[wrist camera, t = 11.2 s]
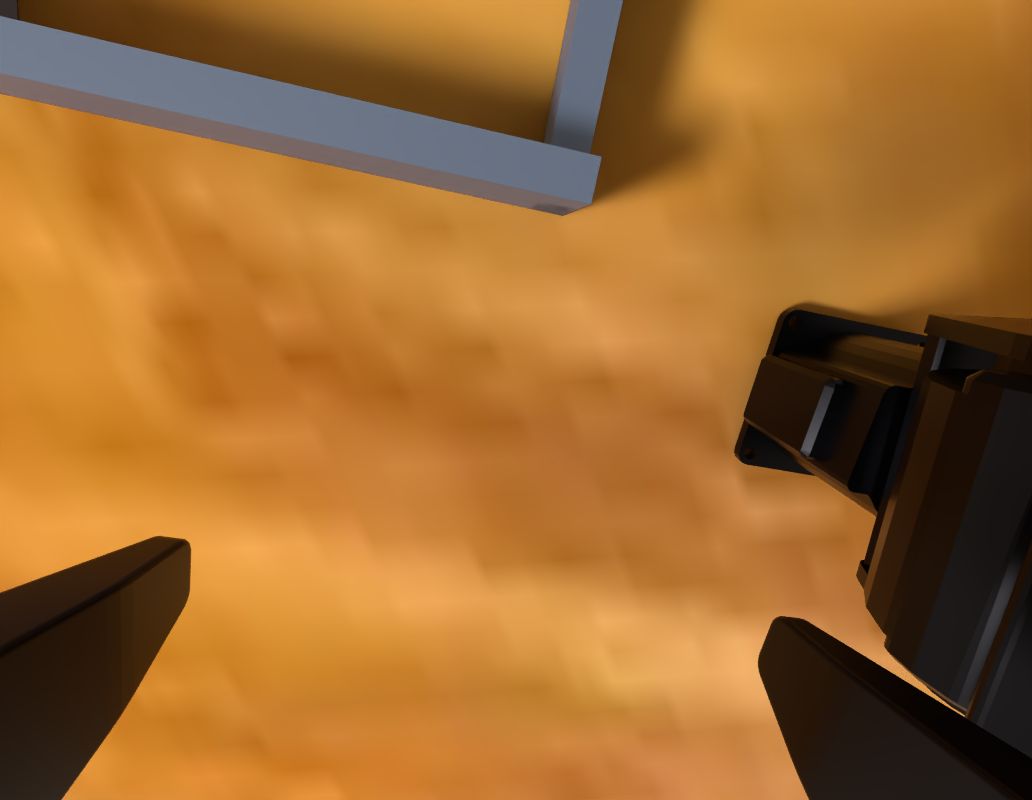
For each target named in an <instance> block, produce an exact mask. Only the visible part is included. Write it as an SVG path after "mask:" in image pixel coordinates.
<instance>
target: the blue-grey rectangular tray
mask: <svg viewBox="0 0 1032 800" xmlns="http://www.w3.org/2000/svg"><path fill="white" fill-rule="evenodd" d="M622 3H623V0H571V2H570V7H569V12H568V17H567V22H566V28H565V33H564V38H563V43H562V48H561V54H560V59H559V64H558V69H557V74H556V79H555V85H554V90H553V95H552V100H551V105H550V110H549V116H548V121H547V126H546V131H545V136H544V142H543V143H541V142H537V141H533V140H528V139H524V138H520V137H515V136H511V135H507V134H503V133H498V132H494V131H490V130H486V129H481V128H477V127H473V126H468V125H464V124H460V123H456V122H451V121H447V120H443V119H438V118H434V117H430V116H426V115H421V114H417V113H413V112H409V111H404V110H400V109H396V108H391V107H387V106H383V105H379V104H374V103H370V102H366V101H361V100H357V99H353V98H349V97H344V96H340V95H336V94H332V93H327V92H323V91H319V90H314V89H310V88H306V87H302V86H297V85H293V84H289V83H284V82H280V81H276V80H272V79H267V78H263V77H259V76H255V75H250V74H246V73H242V72H237V71H233V70H229V69H225V68H220V67H216V66H212V65H208V64H203V63H199V62H195V61H190V60H186V59H182V58H178V57H173V56H169V55H165V54H160V53H156V52H152V51H148V50H143V49H139V48H135V47H131V46H126V45H122V44H118V43H113V42H109V41H105V40H101V39H96V38H92V37H88V36H83V35H79V34H75V33H71V32H66V31H62V30H58V29H54V28H49V27H45V26H41V25H36V24H32V23H28V22H24V21H19V20H18V14H17V0H0V93H1V94H5V95H10V96H14V97H19V98H24V99H28V100H33V101H37V102H42V103H46V104H51V105H56V106H60V107H65V108H69V109H74V110H79V111H83V112H88V113H92V114H97V115H102V116H106V117H111V118H115V119H120V120H125V121H129V122H134V123H138V124H143V125H148V126H152V127H157V128H161V129H166V130H171V131H175V132H180V133H184V134H189V135H194V136H198V137H203V138H207V139H212V140H217V141H221V142H226V143H230V144H235V145H240V146H244V147H249V148H253V149H258V150H263V151H267V152H272V153H276V154H281V155H286V156H290V157H295V158H299V159H304V160H309V161H313V162H318V163H322V164H327V165H332V166H336V167H341V168H345V169H350V170H355V171H359V172H364V173H368V174H373V175H377V176H382V177H387V178H391V179H396V180H400V181H405V182H410V183H414V184H419V185H423V186H428V187H433V188H437V189H442V190H446V191H451V192H456V193H460V194H465V195H469V196H474V197H479V198H483V199H488V200H492V201H497V202H502V203H506V204H511V205H515V206H520V207H525V208H529V209H534V210H538V211H543V212H548V213H552V214H557V215H561V216H563V215H566V214H568V213H571V212H573V211H576V210H578V209H581V208H583V207H586V206H588V205H591V203H592V198H593V194H594V189H595V185H596V180H597V176H598V172H599V167H600V163H601V158H602V157H601V156H597V155H592V154H590V151H591V146H592V141H593V137H594V132H595V128H596V123H597V118H598V114H599V109H600V105H601V100H602V95H603V91H604V86H605V81H606V77H607V72H608V68H609V63H610V58H611V54H612V49H613V45H614V40H615V35H616V31H617V26H618V22H619V17H620V12H621V8H622Z"/></svg>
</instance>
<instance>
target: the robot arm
mask: <svg viewBox="0 0 1032 800" xmlns="http://www.w3.org/2000/svg"><path fill="white" fill-rule="evenodd" d="M794 316H795V318H796V323H795V324H794V326H792V327H791V328H790V326H789V321H790V320H791V318H793V317H794ZM924 333H927V334H928V336H924V335H919V334H914V333H909V332H904V331H900V330H895V329H890V328H885V327H880V326H875V325H871V324H866V323H861V322H856V321H851V320H846V319H842V318H837V317H832V316H827V315H822V314H817V313H813V312H808V311H803V310H798V309H787V310H785V311H784V312H782V313H781V314H780V316H779V318H778V320H777V323H776V326H775V329H774V332H773V335H772V338H771V341H770V344H769V347H768V350H767V353H766V356H765V357H764V358H763V359H762V360H761V363H760V366H759V369H758V372H757V375H756V378H755V381H754V384H753V387H752V390H751V393H750V396H749V399H748V402H747V405H746V408H745V411H744V418H745V419H744V422H743V425H742V428H741V431H740V434H739V437H738V440H737V443H736V446H735V450H734V453H735V456H736V457H737V458H738V459H739V460H740V461H741V462H742V463H744V464H747V465H753V466H759V467H765V468H771V469H777V470H783V471H789V472H795V473H801V474H807V475H813V476H817V477H818V478H820V479H821V480H823V481H824V482H826V483H827V484H829V485H830V486H832V487H833V488H835V489H836V490H838V491H839V492H841V493H842V494H844V495H845V496H847V497H848V498H850V499H851V500H853V501H854V502H856V503H857V504H858V505H860V506H861V507H863V508H864V509H866V510H867V511H869V512H870V513H872V514H873V515H875V516H876V521H875V524H874V528H873V531H872V535H871V538H870V542H869V546H868V549H867V553H866V556H865V560H861V561H860V564H859V567H858V571H857V574H856V576H857V579H858V580H859V582H860V584H861V585H862V587H863V589H864V595H865V603H866V608H867V609H868V611H869V612H870V614H871V615H872V617H873V618H874V620H875V621H876V623H877V624H878V626H879V627H880V629H881V630H882V631H883V633H884V634H885V635H886V639H885V642H884V647H885V648H886V650H887V651H888V652H889V653H890V655H891V656H892V657H893V658H894V659H895V660H896V661H897V662H898V663H899V664H901V665H902V666H903V667H904V668H905V669H906V670H907V671H909V672H910V673H911V674H912V675H913V676H914V677H915V678H916V679H918V680H919V681H920V682H922V683H923V684H924V685H925V686H926V687H927V688H928V689H930V690H931V691H932V692H933V693H934V694H935V695H937V696H938V697H939V698H941V699H942V700H943V701H945V702H946V703H947V704H948V705H950V706H951V707H953V708H954V709H956V710H957V711H959V712H961V713H962V714H964V715H965V717H963V716H962V715H960V714H958V713H957V712H955V711H953V710H952V709H950V708H949V707H947V706H945V705H944V704H942V703H940V702H939V701H937V700H935V699H934V698H932V697H931V696H929V695H927V694H926V693H924V692H922V691H921V690H919V689H917V688H916V687H914V686H913V685H911V684H909V683H908V682H906V681H904V680H903V679H901V678H899V677H898V676H896V675H894V674H893V673H891V672H890V671H888V670H886V669H885V668H883V667H881V666H880V665H878V664H876V663H875V662H873V661H872V660H870V659H868V658H867V657H865V656H863V655H862V654H860V653H858V652H857V651H855V650H854V649H852V648H850V647H849V646H847V645H845V644H844V643H842V642H840V641H839V640H837V639H836V638H834V637H832V636H831V635H829V634H827V633H826V632H824V631H822V630H821V629H819V628H818V627H816V626H814V625H813V624H811V623H809V622H808V621H806V620H804V619H801V618H793V617H785V616H779V617H777V618H775V619H774V620H773V622H772V623H771V626H770V628H769V631H768V633H767V636H766V639H765V641H764V644H763V646H762V649H761V651H760V654H759V658H758V668H759V673H760V676H761V679H762V682H763V684H764V687H765V690H766V692H767V695H768V698H769V700H770V703H771V706H772V708H773V711H774V714H775V716H776V719H777V722H778V724H779V727H780V730H781V732H782V735H783V738H784V740H785V743H786V746H787V748H788V751H789V754H790V756H791V759H792V761H793V764H794V766H795V769H796V771H797V774H798V776H799V779H800V781H801V783H802V785H803V787H804V790H805V792H806V794H807V796H808V798H809V800H1032V319H1019V318H999V317H979V316H959V315H939V314H929V316H928V319H927V323H926V327H925V330H924ZM918 344H920V346H917V345H918ZM749 448H752V450H751V452H750V454H748V455H745V451H746V450H747V449H749ZM190 570H191V547H190V543H189V542H188V541H187V540H185V539H179V538H171V537H163V536H156V537H152V538H150V539H147V540H144V541H141V542H139V543H136V544H133V545H130V546H128V547H125V548H122V549H119V550H117V551H114V552H111V553H108V554H106V555H103V556H100V557H97V558H95V559H92V560H89V561H86V562H84V563H81V564H78V565H75V566H72V567H70V568H67V569H64V570H61V571H59V572H56V573H53V574H50V575H48V576H45V577H42V578H39V579H37V580H34V581H31V582H28V583H26V584H23V585H20V586H17V587H15V588H12V589H9V590H6V591H4V592H1V593H0V800H62V798H63V797H64V795H65V794H66V793H67V791H68V790H69V788H70V787H71V786H72V784H73V783H74V781H75V780H76V779H77V777H78V776H79V774H80V773H81V772H82V770H83V769H84V767H85V766H86V765H87V763H88V762H89V760H90V759H91V758H92V756H93V755H94V753H95V752H96V751H97V749H98V748H99V746H100V745H101V744H102V742H103V741H104V739H105V738H106V737H107V735H108V734H109V732H110V731H111V729H112V728H113V726H114V725H115V723H116V722H117V721H118V719H119V718H120V716H121V715H122V713H123V712H124V710H125V708H126V707H127V705H128V703H129V702H130V700H131V698H132V697H133V695H134V693H135V692H136V690H137V688H138V687H139V685H140V683H141V681H142V680H143V678H144V676H145V674H146V673H147V671H148V669H149V667H150V666H151V664H152V662H153V661H154V659H155V657H156V655H157V654H158V652H159V650H160V648H161V647H162V645H163V643H164V642H165V640H166V638H167V636H168V635H169V633H170V631H171V629H172V628H173V626H174V624H175V623H176V621H177V619H178V617H179V616H180V614H181V612H182V610H183V609H184V607H185V605H186V602H187V600H188V596H189V592H190Z"/></svg>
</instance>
